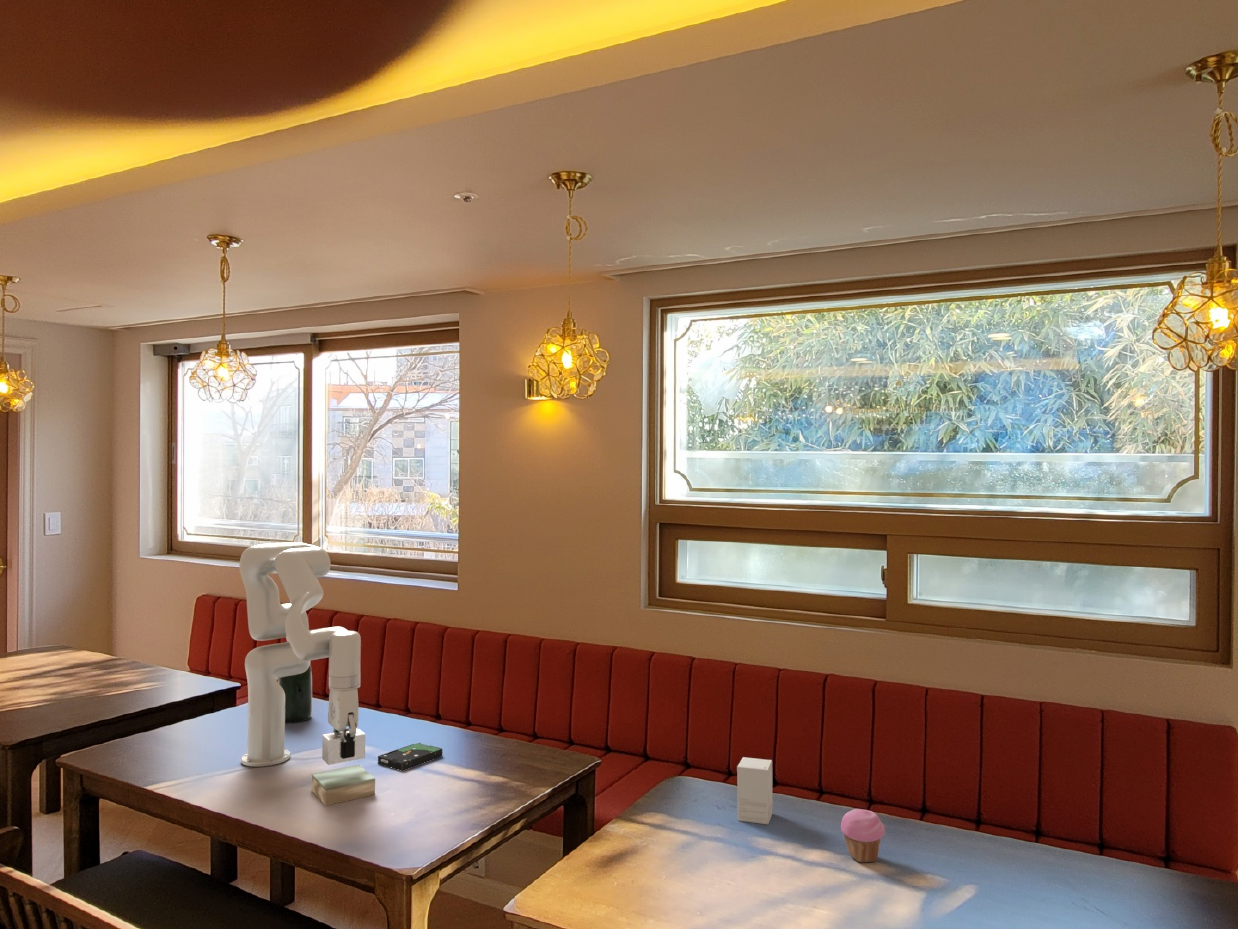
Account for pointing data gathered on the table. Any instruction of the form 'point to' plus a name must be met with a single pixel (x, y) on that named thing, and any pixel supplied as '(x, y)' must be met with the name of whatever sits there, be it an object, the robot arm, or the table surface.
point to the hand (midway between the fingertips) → (343, 753)
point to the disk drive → (409, 756)
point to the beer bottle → (297, 696)
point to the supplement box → (754, 790)
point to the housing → (333, 747)
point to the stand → (343, 784)
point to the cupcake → (862, 834)
